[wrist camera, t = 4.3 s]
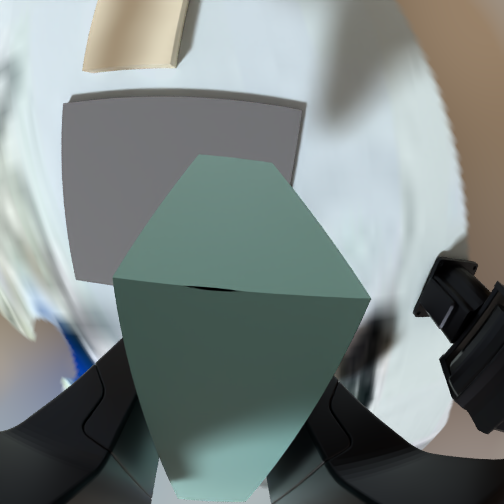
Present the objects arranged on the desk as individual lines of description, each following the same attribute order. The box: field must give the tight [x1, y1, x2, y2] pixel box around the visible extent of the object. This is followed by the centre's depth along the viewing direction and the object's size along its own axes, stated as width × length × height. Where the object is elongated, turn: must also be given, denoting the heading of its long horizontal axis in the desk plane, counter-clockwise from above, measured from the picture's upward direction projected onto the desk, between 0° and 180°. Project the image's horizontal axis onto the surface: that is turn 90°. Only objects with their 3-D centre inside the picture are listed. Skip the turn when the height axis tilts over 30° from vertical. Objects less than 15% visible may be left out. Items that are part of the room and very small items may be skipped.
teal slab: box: [112, 154, 371, 502], centre depth 6 cm, size 2×8×6 cm, turn 171°
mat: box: [62, 96, 302, 285], centre depth 18 cm, size 16×14×1 cm
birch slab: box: [82, 0, 189, 73], centre depth 12 cm, size 6×8×2 cm
